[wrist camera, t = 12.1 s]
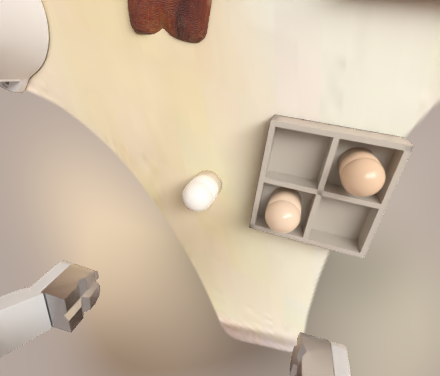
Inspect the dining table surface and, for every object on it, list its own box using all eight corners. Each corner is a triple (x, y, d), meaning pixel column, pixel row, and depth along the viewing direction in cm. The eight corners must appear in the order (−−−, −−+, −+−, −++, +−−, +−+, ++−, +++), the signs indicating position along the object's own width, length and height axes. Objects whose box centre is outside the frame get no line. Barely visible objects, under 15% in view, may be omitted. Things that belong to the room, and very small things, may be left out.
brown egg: (333, 176, 33) (337, 198, 27) (343, 143, 31) (350, 160, 26) (369, 184, 32) (380, 208, 27) (382, 150, 30) (397, 169, 25)
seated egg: (267, 210, 37) (259, 234, 32) (273, 183, 35) (266, 204, 30) (297, 217, 36) (294, 244, 31) (305, 190, 34) (303, 213, 29)
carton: (254, 214, 39) (249, 227, 36) (274, 114, 33) (270, 119, 30) (359, 241, 36) (363, 258, 33) (403, 137, 30) (413, 146, 27)
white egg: (194, 193, 40) (176, 212, 35) (196, 167, 39) (177, 184, 33) (220, 199, 39) (206, 220, 34) (223, 174, 38) (209, 192, 32)
